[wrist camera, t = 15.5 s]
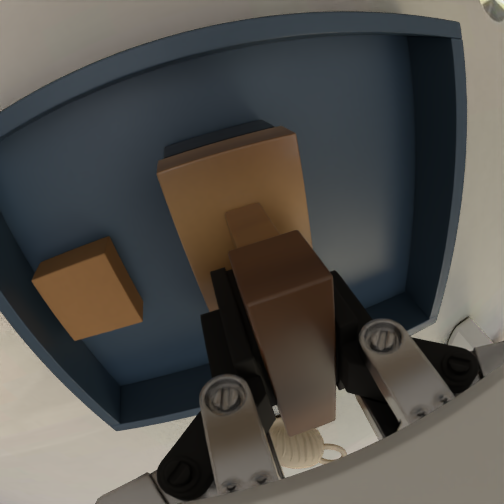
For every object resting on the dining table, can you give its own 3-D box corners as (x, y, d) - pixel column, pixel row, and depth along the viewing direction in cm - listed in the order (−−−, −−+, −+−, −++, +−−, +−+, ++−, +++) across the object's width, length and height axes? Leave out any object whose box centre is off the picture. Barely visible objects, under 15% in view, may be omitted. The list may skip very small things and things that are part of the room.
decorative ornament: (267, 410, 25) (285, 463, 21) (334, 412, 29) (354, 454, 24) (244, 431, 26) (258, 481, 22) (310, 432, 30) (327, 472, 26)
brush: (158, 148, 12) (148, 263, 5) (267, 117, 12) (391, 188, 5) (223, 325, 17) (261, 460, 11) (299, 300, 18) (364, 421, 11)
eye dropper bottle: (434, 357, 29) (492, 439, 19) (459, 318, 26) (529, 402, 16) (456, 349, 30) (511, 423, 20) (480, 312, 27) (544, 387, 18)
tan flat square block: (39, 262, 13) (30, 280, 11) (109, 235, 13) (104, 253, 12) (78, 321, 15) (74, 341, 14) (143, 301, 15) (143, 322, 14)
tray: (-33, 145, 9) (-77, 171, 6) (408, 22, 11) (460, 22, 8) (116, 387, 19) (116, 431, 16) (407, 290, 21) (436, 322, 18)
